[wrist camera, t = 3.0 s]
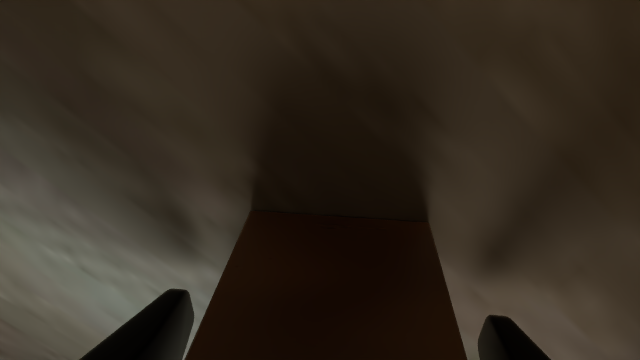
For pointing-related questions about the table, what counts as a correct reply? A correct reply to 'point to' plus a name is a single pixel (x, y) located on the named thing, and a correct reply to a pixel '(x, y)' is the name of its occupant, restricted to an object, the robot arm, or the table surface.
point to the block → (330, 293)
